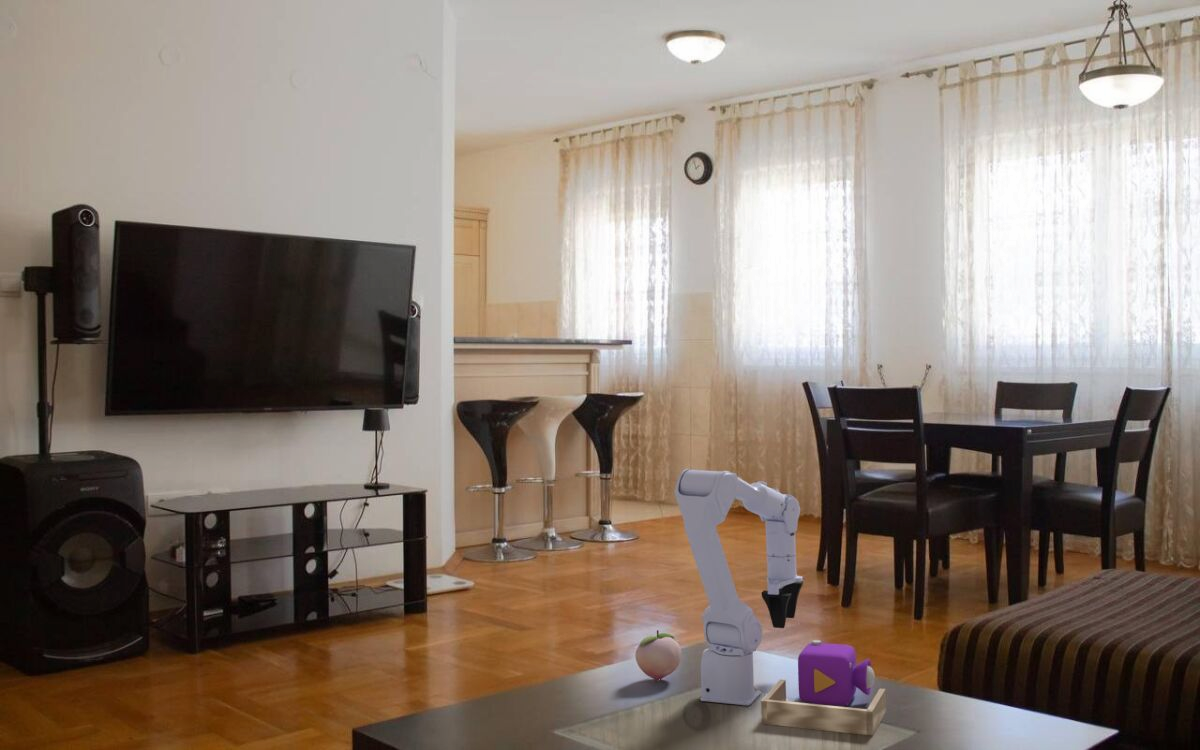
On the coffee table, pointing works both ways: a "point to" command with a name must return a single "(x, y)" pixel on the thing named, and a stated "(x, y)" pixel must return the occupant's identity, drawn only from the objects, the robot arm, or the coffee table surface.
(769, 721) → the wooden tray
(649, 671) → the decorative fruit
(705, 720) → the coffee table surface
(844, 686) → the toy camera
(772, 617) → the robot arm
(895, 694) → the coffee table surface
